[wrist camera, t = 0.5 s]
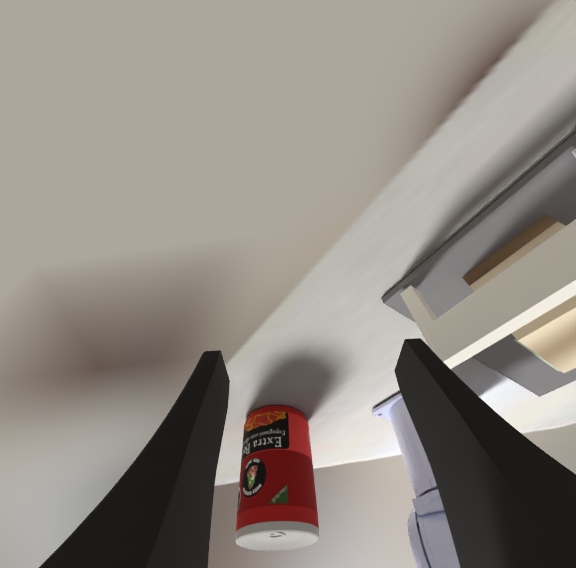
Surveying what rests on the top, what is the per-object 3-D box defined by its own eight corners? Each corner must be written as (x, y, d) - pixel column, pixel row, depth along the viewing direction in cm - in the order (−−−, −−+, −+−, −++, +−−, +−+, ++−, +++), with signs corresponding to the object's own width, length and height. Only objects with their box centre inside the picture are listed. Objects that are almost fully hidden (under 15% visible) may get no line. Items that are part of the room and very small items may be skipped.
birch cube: (583, 258, 20) (678, 318, 15) (504, 310, 23) (563, 373, 18) (545, 214, 18) (643, 268, 13) (462, 277, 21) (518, 340, 16)
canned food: (282, 396, 31) (286, 526, 22) (320, 422, 35) (336, 540, 26) (230, 418, 33) (215, 542, 25) (271, 440, 37) (271, 554, 29)
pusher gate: (599, 146, 15) (757, 186, 10) (408, 299, 21) (449, 369, 16) (592, 134, 15) (752, 170, 10) (400, 293, 21) (439, 364, 16)
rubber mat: (718, 306, 25) (727, 310, 24) (535, 391, 32) (539, 396, 32) (607, 105, 15) (618, 106, 14) (381, 298, 22) (383, 303, 22)
